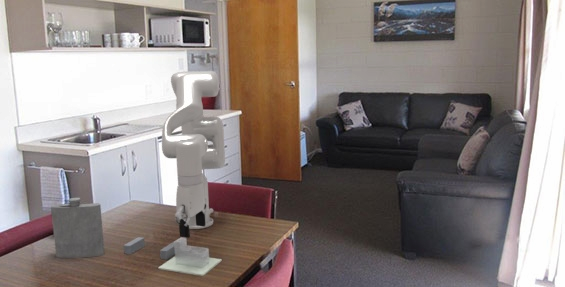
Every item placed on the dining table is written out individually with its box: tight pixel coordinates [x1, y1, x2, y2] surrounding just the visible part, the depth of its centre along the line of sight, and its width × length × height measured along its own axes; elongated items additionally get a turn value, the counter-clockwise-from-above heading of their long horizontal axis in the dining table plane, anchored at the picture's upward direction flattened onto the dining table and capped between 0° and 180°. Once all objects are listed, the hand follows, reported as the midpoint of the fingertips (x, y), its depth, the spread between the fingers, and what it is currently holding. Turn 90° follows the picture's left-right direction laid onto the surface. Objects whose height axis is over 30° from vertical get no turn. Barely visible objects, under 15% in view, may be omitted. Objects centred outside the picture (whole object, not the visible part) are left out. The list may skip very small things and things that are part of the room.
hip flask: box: [50, 197, 106, 259], centre depth 169 cm, size 16×4×20 cm, turn 93°
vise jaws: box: [123, 236, 175, 261], centre depth 171 cm, size 8×17×3 cm, turn 69°
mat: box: [158, 256, 223, 277], centre depth 161 cm, size 12×16×1 cm
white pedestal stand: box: [173, 237, 210, 268], centre depth 160 cm, size 4×10×8 cm, turn 69°
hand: (193, 231), depth 159 cm, fingers open, 9 cm apart
